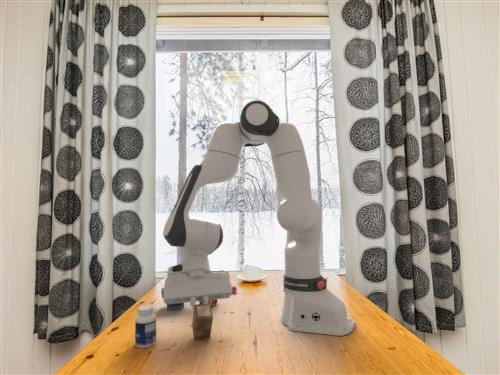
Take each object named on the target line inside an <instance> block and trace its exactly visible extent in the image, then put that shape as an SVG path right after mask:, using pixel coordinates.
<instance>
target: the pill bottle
mask: <svg viewBox="0 0 500 375" xmlns="http://www.w3.org/2000/svg"><path fill="white" fill-rule="evenodd" d="M137 314H138V315H137V316H136V317H135V319H134V321H135V322H134V326H135V327H134V329H135V330H134V333H135V334H134V335H135V336H134V339H135V340H134V343H135V347H137V348H141V349H146V348H150V347H152V346H154V345H156V343H157V315H156V314H155V313H154V306H153V305H152V304H151V305H150V304H148V305H147V304H145V305H141V306H139V307H138V308H137Z"/></svg>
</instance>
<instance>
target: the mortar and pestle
mask: <svg viewBox="0 0 500 375" xmlns="http://www.w3.org/2000/svg"><path fill="white" fill-rule="evenodd" d="M160 289H161V290H160V291H161V297H162V299H163V295H164V287H162V288H160ZM184 308H185V304H184V303H176V304H166V309H167V310H168V311H180V310H182V309H184Z"/></svg>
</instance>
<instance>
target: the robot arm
mask: <svg viewBox="0 0 500 375" xmlns="http://www.w3.org/2000/svg"><path fill="white" fill-rule="evenodd" d="M211 135H212V136H211V138H210V141H209V143H208V146H207V151H206V154H205V157H204V158H203V160H202V161H201V162H200V163H199V164H195V165H194V166H193V167H192V168H191V170H190V172H189V173H188V176H187V178H186V179H185V182H184V184H183V186H182V189H181V190H180V193H179V196H178V197H177V200H176V201H175V205H174V207H173V209H172V210H171V213H170V214H169V216H168V219H166V222H165V225H164V226H163V232H162V234H163V238H164V240H165V241H166V242H167V243H168V245H169V246H171V247H177V248H178V247H179V255H180V258H181V262H180V263H178V264H176V265H173V266H170V267H168V269H167V273H166V279H165V281H164V286H163V288H164V295H163V298H162V299H163V303H164V305H167V304H176V303H189V304H190V307H192V309H193V310H194V305H197V304H196V302H199V301H203V304H207V303H208V300H214V299H218V300H221V299H229V298H230V297H231V296H232V295H233V294H232V286H231V283H232V282H231V283H230V280H231V275H230V272H229V271H227V270H225V269H213V270H212V269H211V268H210V263H209V262H210V260H209V255H212V254H213V253H214V252H215V251H216V250H218V248H220V246H222V244H223V241H224V232H223V228H222V225H221V224H220V222H218V221H216V220H213V219H208V218H202V217H199V216H198V217H197V216H193V215H190V210H191V208H192V205H193V203H194V201H195V198H196V196H197V194H198V191H199V190H200V189H201V188H202V187H204V186H207V185H211V184H220V183H225V182H228V181H229V180H231V179H233V177H234V176H235V175H236V174H237V172H238V170H239V164H240V161H241V156H242V151H243V150H244V147H245V148H248V147H260V146H263V145H267V147H268V149H269V152H270V158H271V161H272V167H273V172H274V178H275V182H276V198H277V212H276V219H277V222H278V224H279V225H280V227H281V228H282V229H283V230H285V231H287V237H286V243H285V248H284V275H283V292H284V298H283V307H282V313H281V316H280V321H281V323H282V324H283V325H285V326H287V327H288V329H289V330H290V331H293V332H300V333H301V332H303V333H312V334H319V335H320V334H322V335H328V336H338V337H343V336H345V335H348V334H350V333H351V332H353V330H354V329H355V326H356V323H355V319H354V318H353V317H351V316H348V314H347V308H346V304H345V303H344V302H343V300H342V299H340V298H339V297H338V296H337V295H335V294H334V293H333V292H332V291H330V290H329V289H328V288H327V282H328V277H326V278H325V277H323V276H322V275H321V260H320V259H321V258H320V256H321V255H320V250H321V249H320V248H321V238H322V236H321V235H322V220H323V219H322V217H323V216H322V215H323V214H322V212H323V211H322V208H321V206H320V204H319V202H317V201H316V200H315V199H314V198H313V196H312V188H311V186H312V185H311V173H310V169H309V165H308V160H307V156H306V151H305V148H304V144H303V141H302V138H301V135H300V132H299V131H298V128H297V126H296V125H295V124H293V123H290V122H280V117H279V116H278V115H277V114H276V113H275V111H273V109H272V108H271V107H270V105H269V104H267V103H266V102H265V101H262V100H259V99H258V100H256V99H255V100H251V101H249V102H247V103H246V104H245V105H244V106H243V107H242V109H241V110H240V114H239V120H238V121H237V122H233V123H232V122H227V121H225V122H221V123H219V124H217V126H216V127H215V129H214V131H213V132H212V134H211Z"/></svg>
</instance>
